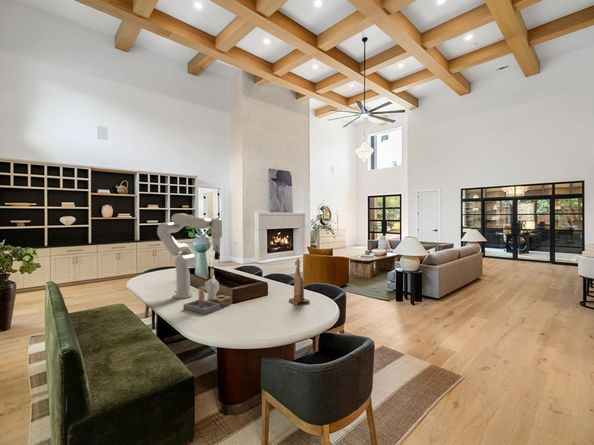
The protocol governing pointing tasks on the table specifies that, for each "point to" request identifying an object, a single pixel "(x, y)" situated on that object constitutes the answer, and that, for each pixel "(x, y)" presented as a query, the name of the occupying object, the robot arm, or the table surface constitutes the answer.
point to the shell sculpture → (211, 287)
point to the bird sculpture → (298, 286)
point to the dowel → (201, 297)
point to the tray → (195, 308)
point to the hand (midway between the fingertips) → (217, 258)
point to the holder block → (222, 300)
